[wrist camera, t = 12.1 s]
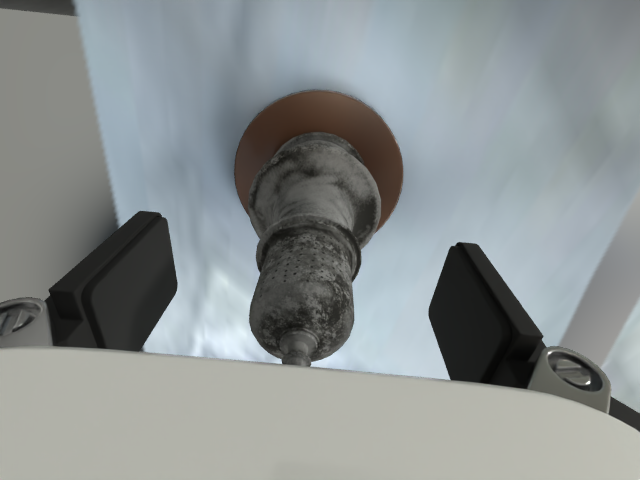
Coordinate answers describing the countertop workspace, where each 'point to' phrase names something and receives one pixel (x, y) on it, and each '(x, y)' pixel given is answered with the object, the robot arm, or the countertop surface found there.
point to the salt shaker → (309, 245)
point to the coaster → (329, 117)
